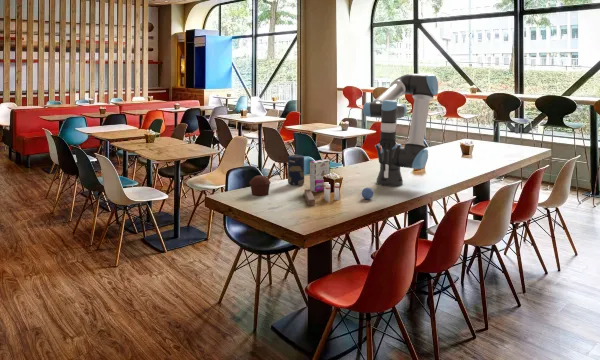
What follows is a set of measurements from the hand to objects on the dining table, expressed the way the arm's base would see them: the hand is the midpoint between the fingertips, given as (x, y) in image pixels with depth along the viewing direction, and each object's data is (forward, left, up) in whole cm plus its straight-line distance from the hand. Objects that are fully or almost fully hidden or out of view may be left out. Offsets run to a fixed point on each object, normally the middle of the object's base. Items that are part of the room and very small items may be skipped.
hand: (385, 177), depth 269 cm
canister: (+43, -36, -12) cm, 58 cm away
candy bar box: (+31, -22, -12) cm, 40 cm away
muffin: (+64, -14, -12) cm, 67 cm away
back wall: (+39, 0, -11) cm, 41 cm away
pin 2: (+30, +2, -11) cm, 32 cm away
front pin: (+25, 0, -11) cm, 28 cm away
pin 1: (+30, -3, -11) cm, 32 cm away
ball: (+9, 0, -8) cm, 13 cm away
